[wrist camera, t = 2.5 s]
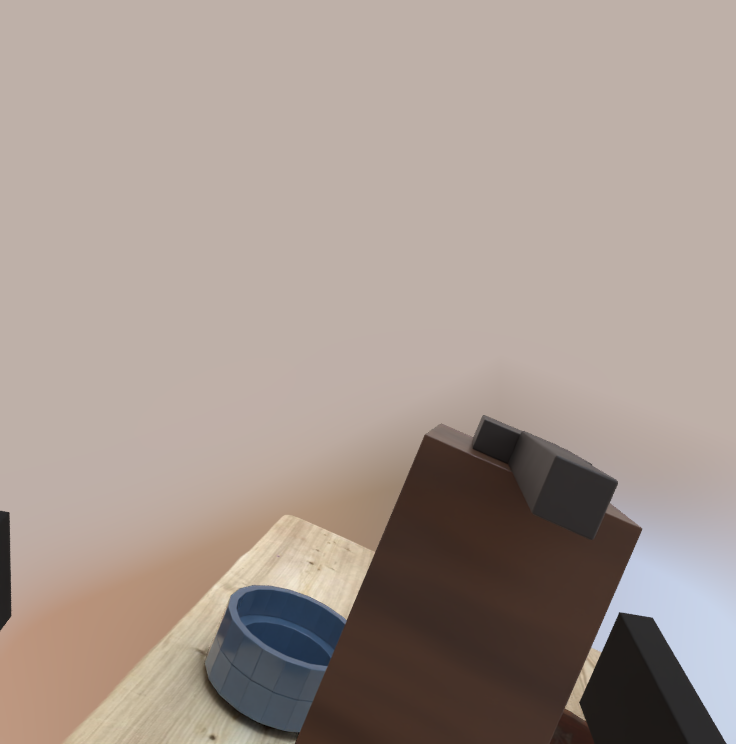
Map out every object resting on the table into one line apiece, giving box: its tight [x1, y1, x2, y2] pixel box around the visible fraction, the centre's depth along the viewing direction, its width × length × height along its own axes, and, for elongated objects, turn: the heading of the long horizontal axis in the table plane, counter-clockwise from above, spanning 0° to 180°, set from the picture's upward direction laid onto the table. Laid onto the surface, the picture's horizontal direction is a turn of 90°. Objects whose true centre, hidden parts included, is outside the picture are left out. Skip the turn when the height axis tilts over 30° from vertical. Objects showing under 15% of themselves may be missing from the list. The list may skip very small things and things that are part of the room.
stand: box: [295, 424, 642, 744], centre depth 33 cm, size 12×10×30 cm
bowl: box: [205, 585, 347, 732], centre depth 57 cm, size 14×14×6 cm
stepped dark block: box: [473, 415, 618, 540], centre depth 27 cm, size 21×6×2 cm, turn 169°
